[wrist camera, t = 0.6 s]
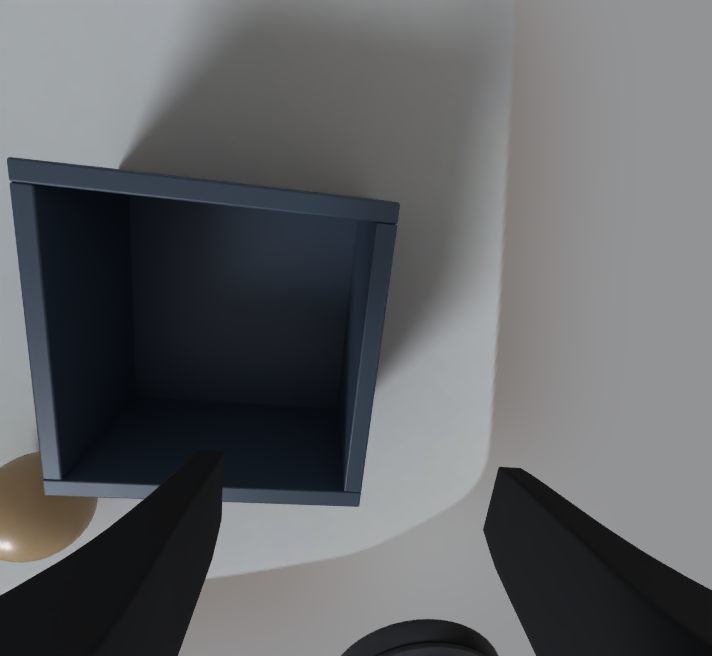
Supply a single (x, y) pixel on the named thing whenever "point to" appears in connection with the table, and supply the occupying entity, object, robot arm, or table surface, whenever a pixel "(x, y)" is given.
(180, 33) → the table surface
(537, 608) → the robot arm
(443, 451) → the table surface
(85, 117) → the table surface
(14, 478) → the brown ball
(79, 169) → the bin
